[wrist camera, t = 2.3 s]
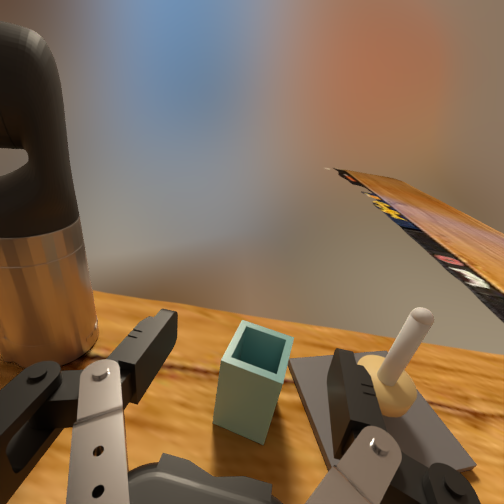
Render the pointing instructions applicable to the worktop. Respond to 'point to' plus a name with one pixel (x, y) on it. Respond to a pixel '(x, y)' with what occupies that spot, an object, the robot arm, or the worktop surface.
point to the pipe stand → (385, 399)
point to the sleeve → (251, 380)
